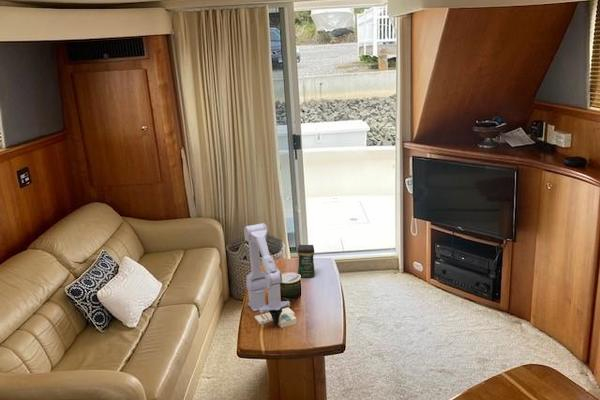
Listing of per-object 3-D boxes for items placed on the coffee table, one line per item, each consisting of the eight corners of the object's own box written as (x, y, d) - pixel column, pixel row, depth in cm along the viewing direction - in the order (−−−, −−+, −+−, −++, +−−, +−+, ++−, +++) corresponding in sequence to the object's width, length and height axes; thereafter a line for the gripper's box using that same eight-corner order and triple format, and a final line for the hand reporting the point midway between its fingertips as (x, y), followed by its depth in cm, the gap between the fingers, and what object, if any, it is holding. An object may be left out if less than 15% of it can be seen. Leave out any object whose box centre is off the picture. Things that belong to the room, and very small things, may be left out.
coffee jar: (297, 278, 278) (296, 247, 273) (298, 272, 285) (297, 242, 280) (314, 278, 277) (313, 247, 272) (315, 272, 284) (314, 242, 280)
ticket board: (254, 318, 236) (254, 315, 235) (288, 309, 243) (288, 306, 243) (260, 324, 229) (260, 322, 229) (294, 315, 237) (294, 312, 237)
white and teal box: (275, 322, 231) (275, 316, 230) (291, 318, 235) (291, 311, 234) (281, 328, 226) (280, 321, 225) (296, 324, 230) (296, 317, 229)
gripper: (262, 303, 218) (264, 331, 222) (292, 296, 224) (293, 322, 228) (257, 297, 224) (258, 324, 228) (285, 290, 230) (287, 316, 234)
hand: (275, 323), depth 228 cm, fingers closed
